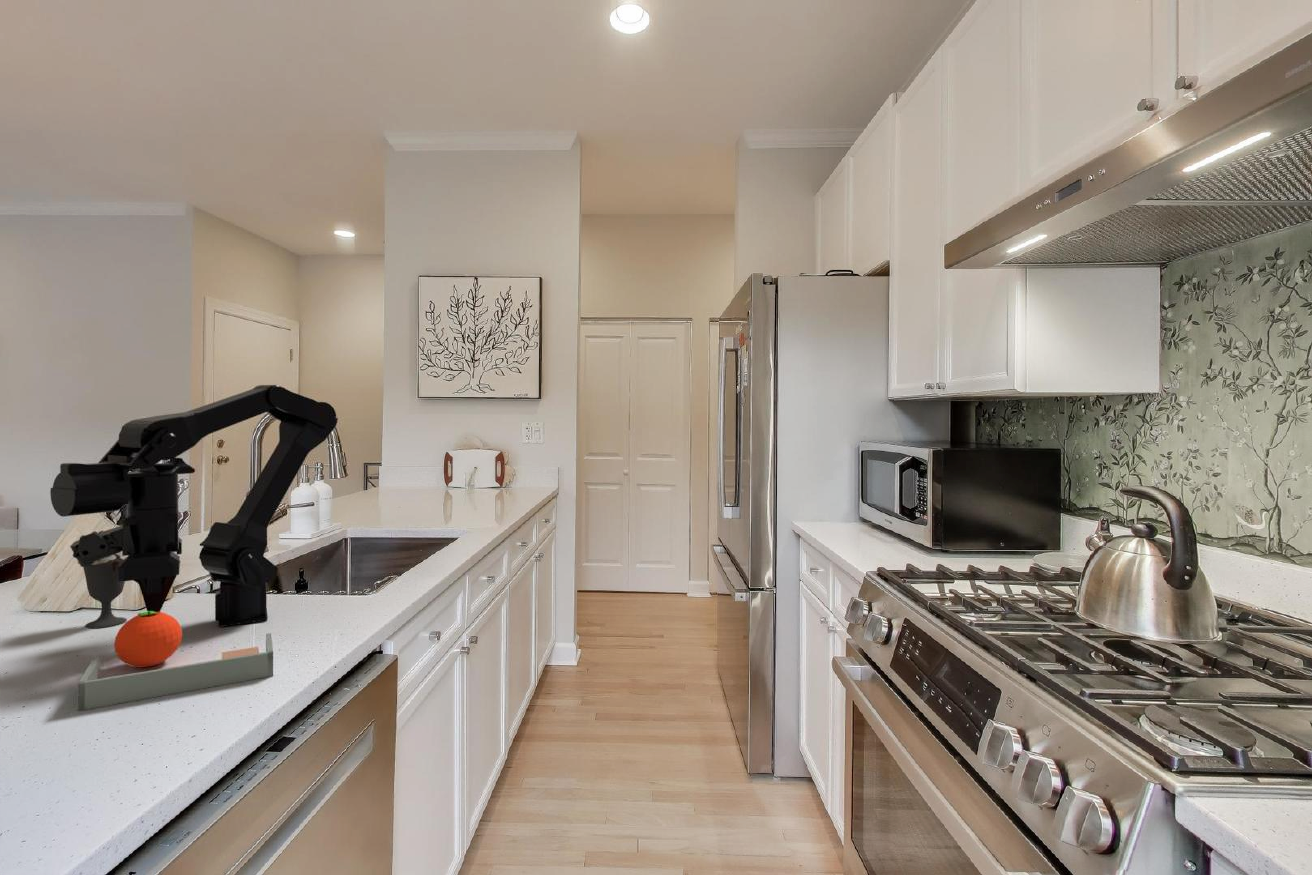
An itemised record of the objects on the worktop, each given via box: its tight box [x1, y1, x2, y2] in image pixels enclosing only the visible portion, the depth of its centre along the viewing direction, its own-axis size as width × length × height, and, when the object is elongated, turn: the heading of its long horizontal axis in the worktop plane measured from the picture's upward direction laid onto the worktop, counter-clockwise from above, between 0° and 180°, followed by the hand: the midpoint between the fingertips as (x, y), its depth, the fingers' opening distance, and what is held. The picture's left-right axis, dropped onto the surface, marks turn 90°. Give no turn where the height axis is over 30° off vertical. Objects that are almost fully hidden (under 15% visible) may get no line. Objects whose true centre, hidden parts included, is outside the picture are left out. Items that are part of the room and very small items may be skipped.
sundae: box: [77, 530, 129, 629], centre depth 97 cm, size 7×7×15 cm
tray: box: [77, 632, 274, 712], centre depth 78 cm, size 18×8×3 cm, turn 123°
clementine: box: [113, 611, 183, 668], centre depth 82 cm, size 8×7×7 cm
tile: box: [221, 646, 260, 659], centre depth 80 cm, size 4×4×2 cm
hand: (153, 615), depth 89 cm, fingers closed
